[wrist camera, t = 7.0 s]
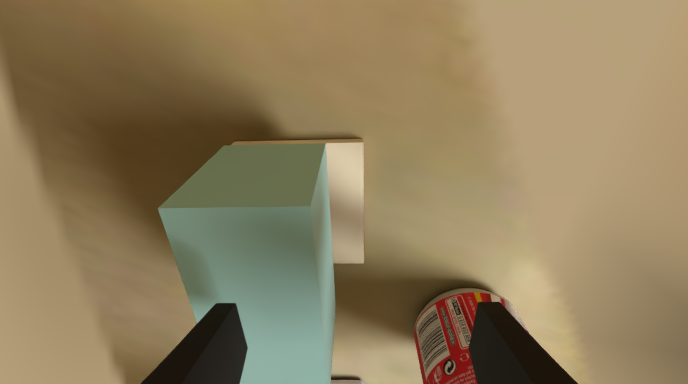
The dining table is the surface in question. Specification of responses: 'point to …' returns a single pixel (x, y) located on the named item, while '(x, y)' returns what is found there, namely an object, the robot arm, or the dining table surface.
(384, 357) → the dining table surface
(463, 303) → the soda can
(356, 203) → the stand
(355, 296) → the dining table surface
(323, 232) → the block
